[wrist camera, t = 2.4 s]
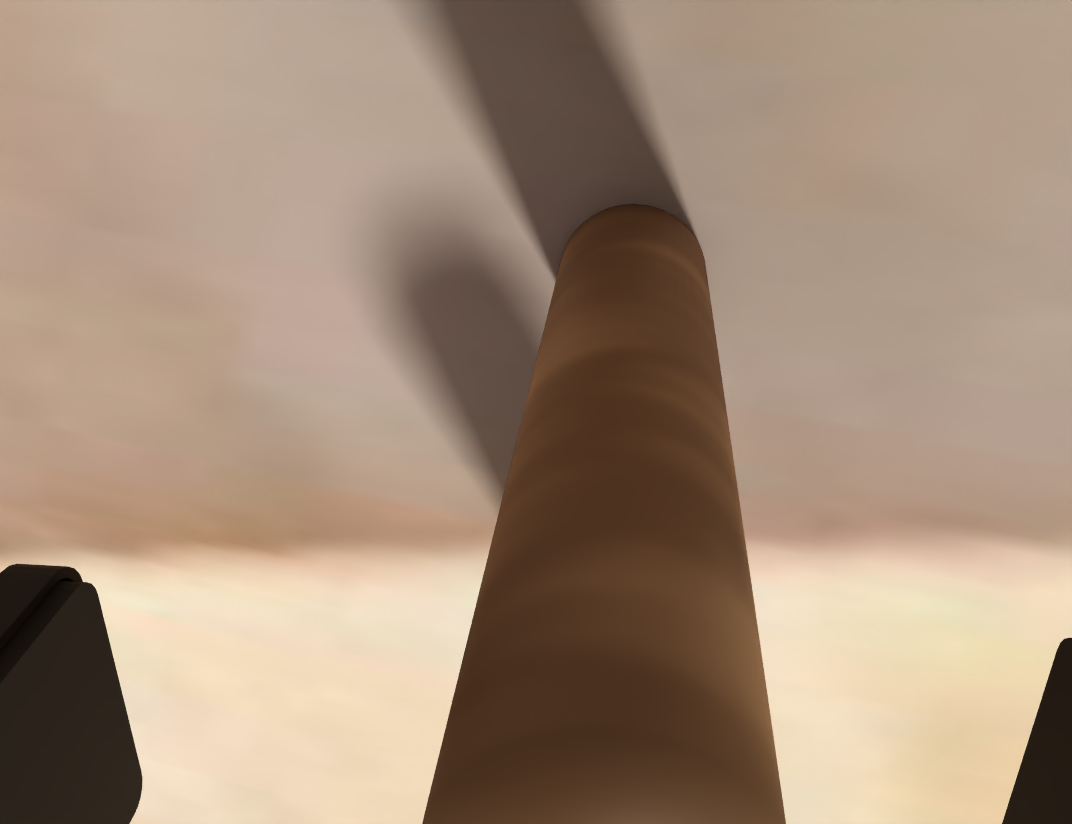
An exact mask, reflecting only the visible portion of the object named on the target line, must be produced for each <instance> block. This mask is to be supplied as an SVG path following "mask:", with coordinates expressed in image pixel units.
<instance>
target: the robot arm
mask: <svg viewBox="0 0 1072 824" xmlns="http://www.w3.org/2000/svg"><path fill="white" fill-rule="evenodd" d="M141 791H142V773H141V768H140V764H139V760H138V756H137V752H136V748H135V744H134V740H133V736H132V732H131V728H130V724H129V720H128V715H127V711H126V707H125V703H124V699H123V695H122V691H121V687H120V683H119V679H118V675H117V671H116V667H115V662H114V658H113V654H112V650H111V646H110V642H109V638H108V634H107V630H106V626H105V622H104V618H103V614H102V609H101V605H100V601H99V597H98V594H97V591H96V589H95V587H94V586H93V585H92V584H90V583H87V582H83V581H82V578H81V576H80V574H79V573H78V572H77V571H76V570H75V569H74V568H71V567H65V566H47V565H29V564H15V565H11V566H8V567H7V568H6V569H5V570H3V571H2V572H1V573H0V824H129V823H130V821H131V820H132V818H133V816H134V814H135V812H136V809H137V807H138V804H139V801H140V797H141ZM1002 824H1072V638H1066V639H1064V640H1063V641H1062V642H1061V643H1060V645H1059V647H1058V649H1057V652H1056V655H1055V658H1054V662H1053V665H1052V668H1051V671H1050V674H1049V677H1048V681H1047V684H1046V687H1045V690H1044V693H1043V696H1042V700H1041V703H1040V706H1039V709H1038V712H1037V715H1036V718H1035V722H1034V725H1033V728H1032V731H1031V734H1030V737H1029V741H1028V744H1027V747H1026V750H1025V753H1024V756H1023V760H1022V763H1021V766H1020V769H1019V772H1018V775H1017V778H1016V782H1015V785H1014V788H1013V791H1012V794H1011V797H1010V801H1009V804H1008V807H1007V810H1006V813H1005V816H1004V820H1003V823H1002Z"/></svg>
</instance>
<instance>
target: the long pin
mask: <svg viewBox="0 0 1072 824" xmlns="http://www.w3.org/2000/svg"><path fill="white" fill-rule="evenodd" d="M423 824H786V821H785V814H784V807H783V800H782V793H781V786H780V780H779V773H778V766H777V759H776V752H775V745H774V738H773V731H772V724H771V717H770V710H769V703H768V696H767V689H766V682H765V675H764V668H763V662H762V655H761V648H760V641H759V634H758V627H757V620H756V613H755V606H754V599H753V592H752V585H751V578H750V571H749V564H748V557H747V550H746V543H745V537H744V530H743V523H742V516H741V509H740V502H739V495H738V488H737V481H736V474H735V467H734V460H733V453H732V446H731V439H730V432H729V425H728V419H727V412H726V405H725V398H724V391H723V384H722V377H721V370H720V363H719V356H718V349H717V342H716V335H715V328H714V321H713V314H712V307H711V301H710V294H709V287H708V280H707V273H706V266H705V260H704V256H703V252H702V250H701V247H700V245H699V243H698V241H697V239H696V238H695V236H694V235H693V233H692V232H691V231H690V230H689V228H688V227H687V226H686V225H684V224H683V223H682V222H681V221H680V220H679V219H677V218H676V217H674V216H673V215H671V214H669V213H667V212H665V211H663V210H660V209H658V208H655V207H650V206H646V205H636V204H635V205H622V206H616V207H612V208H609V209H606V210H604V211H601V212H599V213H597V214H596V215H594V216H592V217H591V218H589V219H588V220H587V221H585V222H584V223H583V224H582V225H581V226H580V227H579V228H578V229H577V230H576V231H575V232H574V234H573V235H572V236H571V238H570V239H569V241H568V243H567V245H566V247H565V250H564V252H563V255H562V259H561V263H560V267H559V271H558V275H557V279H556V283H555V287H554V291H553V295H552V299H551V303H550V307H549V311H548V316H547V320H546V324H545V328H544V332H543V336H542V340H541V344H540V348H539V352H538V356H537V360H536V364H535V368H534V372H533V376H532V380H531V385H530V389H529V393H528V397H527V401H526V405H525V409H524V413H523V417H522V421H521V425H520V429H519V433H518V437H517V441H516V445H515V449H514V454H513V458H512V462H511V466H510V470H509V474H508V478H507V482H506V486H505V490H504V494H503V498H502V502H501V506H500V510H499V514H498V518H497V522H496V527H495V531H494V535H493V539H492V543H491V547H490V551H489V555H488V559H487V563H486V567H485V571H484V575H483V579H482V583H481V587H480V591H479V596H478V600H477V604H476V608H475V612H474V616H473V620H472V624H471V628H470V632H469V636H468V640H467V644H466V648H465V652H464V656H463V660H462V665H461V669H460V673H459V677H458V681H457V685H456V689H455V693H454V697H453V701H452V705H451V709H450V713H449V717H448V721H447V725H446V729H445V733H444V738H443V742H442V746H441V750H440V754H439V758H438V762H437V766H436V770H435V774H434V778H433V782H432V786H431V790H430V794H429V798H428V802H427V807H426V811H425V815H424V820H423Z"/></svg>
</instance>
